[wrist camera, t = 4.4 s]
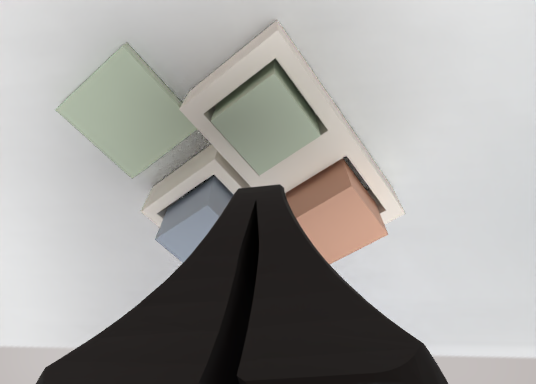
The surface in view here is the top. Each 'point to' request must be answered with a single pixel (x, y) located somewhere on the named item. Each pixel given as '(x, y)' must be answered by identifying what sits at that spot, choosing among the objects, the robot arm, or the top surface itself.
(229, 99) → the sage button
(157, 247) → the top surface
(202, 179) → the side socket
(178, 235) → the blue-grey cube
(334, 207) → the orange-brown cube
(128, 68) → the sage swatch
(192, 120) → the button strip
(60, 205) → the top surface
